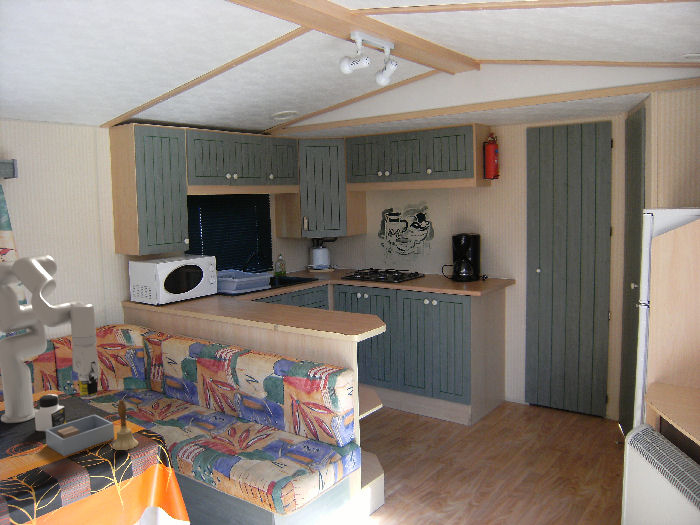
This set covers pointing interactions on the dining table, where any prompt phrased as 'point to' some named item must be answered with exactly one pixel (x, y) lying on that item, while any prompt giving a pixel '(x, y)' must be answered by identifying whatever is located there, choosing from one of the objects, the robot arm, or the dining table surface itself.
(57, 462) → the dining table surface
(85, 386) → the supplement bottle
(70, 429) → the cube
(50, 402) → the medicine bottle
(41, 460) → the dining table surface
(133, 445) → the hand bell
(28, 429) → the dining table surface
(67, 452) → the tote
